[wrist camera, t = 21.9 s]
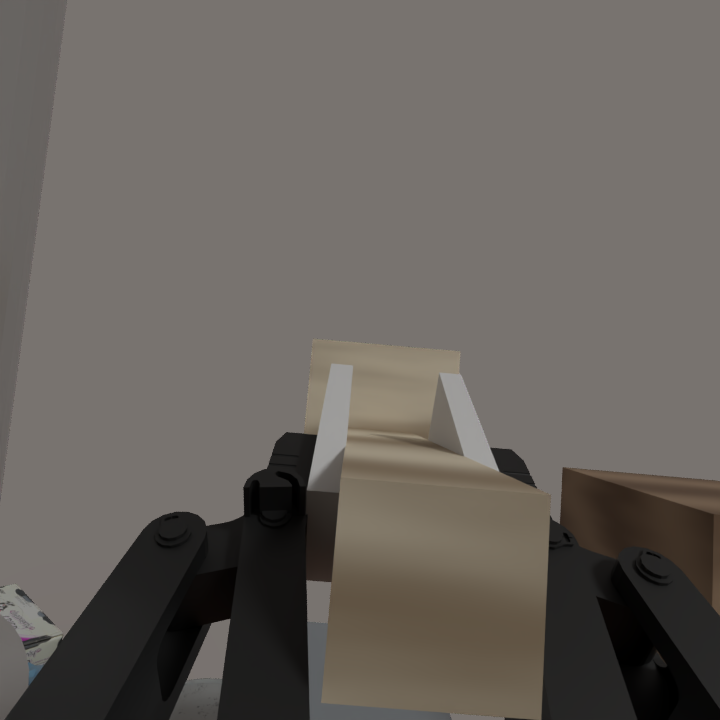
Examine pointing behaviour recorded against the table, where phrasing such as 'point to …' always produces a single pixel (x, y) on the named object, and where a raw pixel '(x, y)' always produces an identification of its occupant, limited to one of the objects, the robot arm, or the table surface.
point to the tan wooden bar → (427, 552)
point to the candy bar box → (29, 624)
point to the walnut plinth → (648, 520)
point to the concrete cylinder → (198, 700)
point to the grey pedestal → (339, 716)
